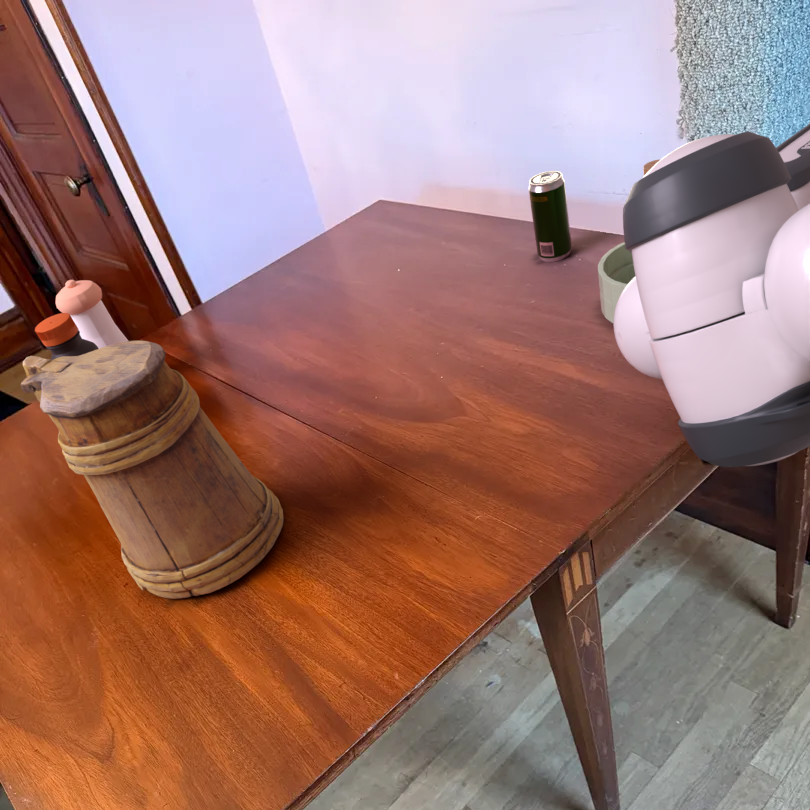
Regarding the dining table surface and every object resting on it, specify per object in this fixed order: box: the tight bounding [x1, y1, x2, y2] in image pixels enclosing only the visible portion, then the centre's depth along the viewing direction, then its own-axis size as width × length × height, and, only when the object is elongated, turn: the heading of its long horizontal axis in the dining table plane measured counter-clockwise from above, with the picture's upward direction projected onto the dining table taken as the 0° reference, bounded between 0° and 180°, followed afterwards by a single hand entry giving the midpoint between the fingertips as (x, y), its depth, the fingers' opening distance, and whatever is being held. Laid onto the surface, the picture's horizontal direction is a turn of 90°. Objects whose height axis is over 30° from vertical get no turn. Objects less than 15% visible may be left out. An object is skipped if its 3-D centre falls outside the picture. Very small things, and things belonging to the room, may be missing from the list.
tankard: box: [20, 340, 285, 600], centre depth 81 cm, size 18×24×25 cm
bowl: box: [597, 241, 635, 325], centre depth 99 cm, size 15×15×6 cm
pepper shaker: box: [55, 279, 129, 349], centre depth 118 cm, size 7×7×19 cm
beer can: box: [528, 170, 573, 263], centre depth 115 cm, size 5×5×12 cm
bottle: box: [34, 312, 99, 360], centre depth 105 cm, size 7×7×20 cm
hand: (651, 230), depth 94 cm, fingers closed on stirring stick, 3 cm apart
